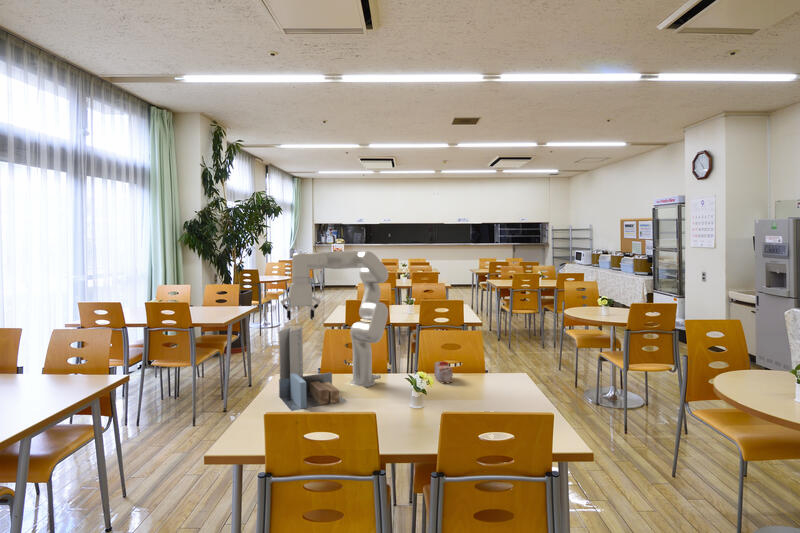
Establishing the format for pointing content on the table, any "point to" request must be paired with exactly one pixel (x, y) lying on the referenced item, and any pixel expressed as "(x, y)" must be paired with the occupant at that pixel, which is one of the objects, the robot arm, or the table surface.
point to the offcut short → (332, 392)
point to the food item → (443, 372)
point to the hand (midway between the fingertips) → (300, 319)
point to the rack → (310, 402)
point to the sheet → (298, 390)
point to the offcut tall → (319, 392)
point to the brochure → (290, 352)
